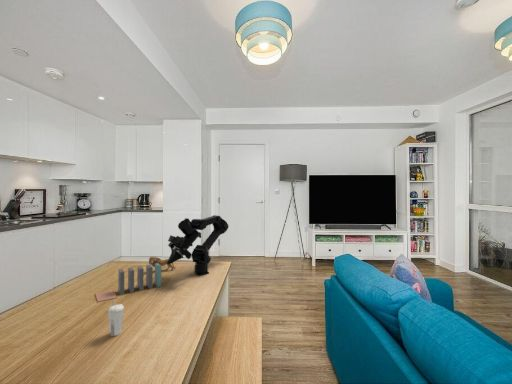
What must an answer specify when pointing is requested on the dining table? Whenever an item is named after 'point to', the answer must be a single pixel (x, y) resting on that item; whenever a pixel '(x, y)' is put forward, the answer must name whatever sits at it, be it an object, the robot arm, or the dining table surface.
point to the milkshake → (115, 319)
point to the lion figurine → (160, 262)
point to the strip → (105, 295)
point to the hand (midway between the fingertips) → (167, 263)
